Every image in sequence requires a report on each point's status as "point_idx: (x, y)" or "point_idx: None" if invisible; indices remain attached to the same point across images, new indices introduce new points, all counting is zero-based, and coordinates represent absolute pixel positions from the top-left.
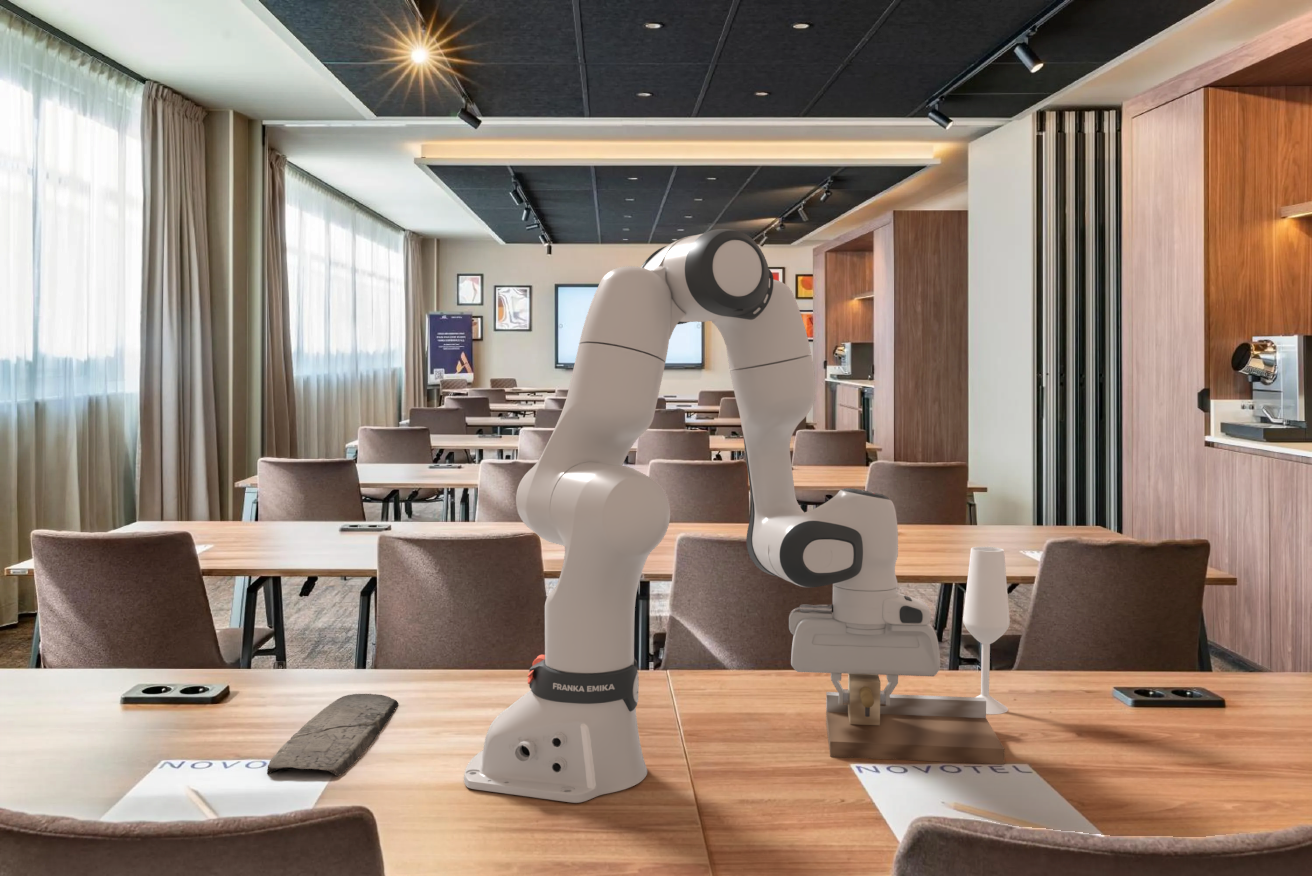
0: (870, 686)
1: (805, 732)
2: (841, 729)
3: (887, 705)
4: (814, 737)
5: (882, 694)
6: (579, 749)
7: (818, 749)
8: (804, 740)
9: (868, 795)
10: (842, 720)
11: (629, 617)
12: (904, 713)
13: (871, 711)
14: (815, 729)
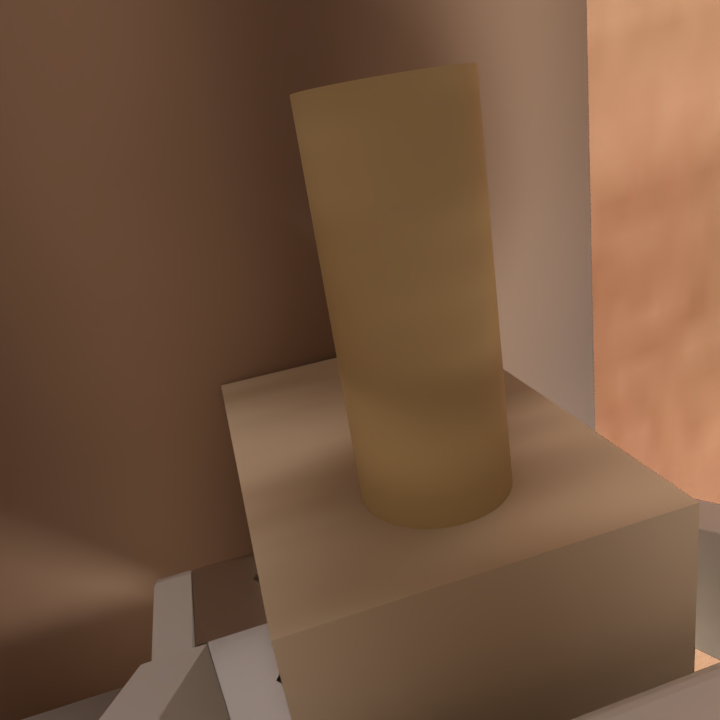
0: (403, 548)
1: (655, 340)
2: (502, 201)
3: (176, 577)
4: (610, 271)
5: (236, 632)
6: None
7: (590, 41)
8: (665, 196)
9: None
10: None
11: None
12: (72, 711)
13: (311, 413)
14: (603, 410)
